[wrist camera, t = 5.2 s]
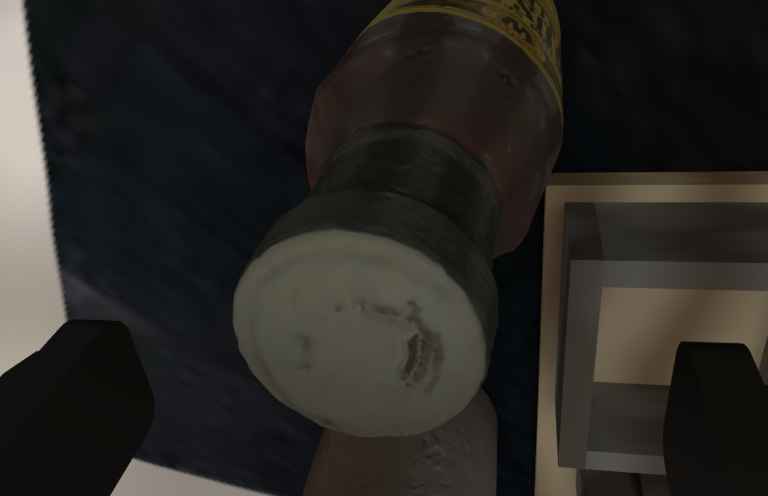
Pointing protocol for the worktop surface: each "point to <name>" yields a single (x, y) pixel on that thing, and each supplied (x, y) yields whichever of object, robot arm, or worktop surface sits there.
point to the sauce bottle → (406, 216)
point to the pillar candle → (412, 459)
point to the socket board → (638, 313)
